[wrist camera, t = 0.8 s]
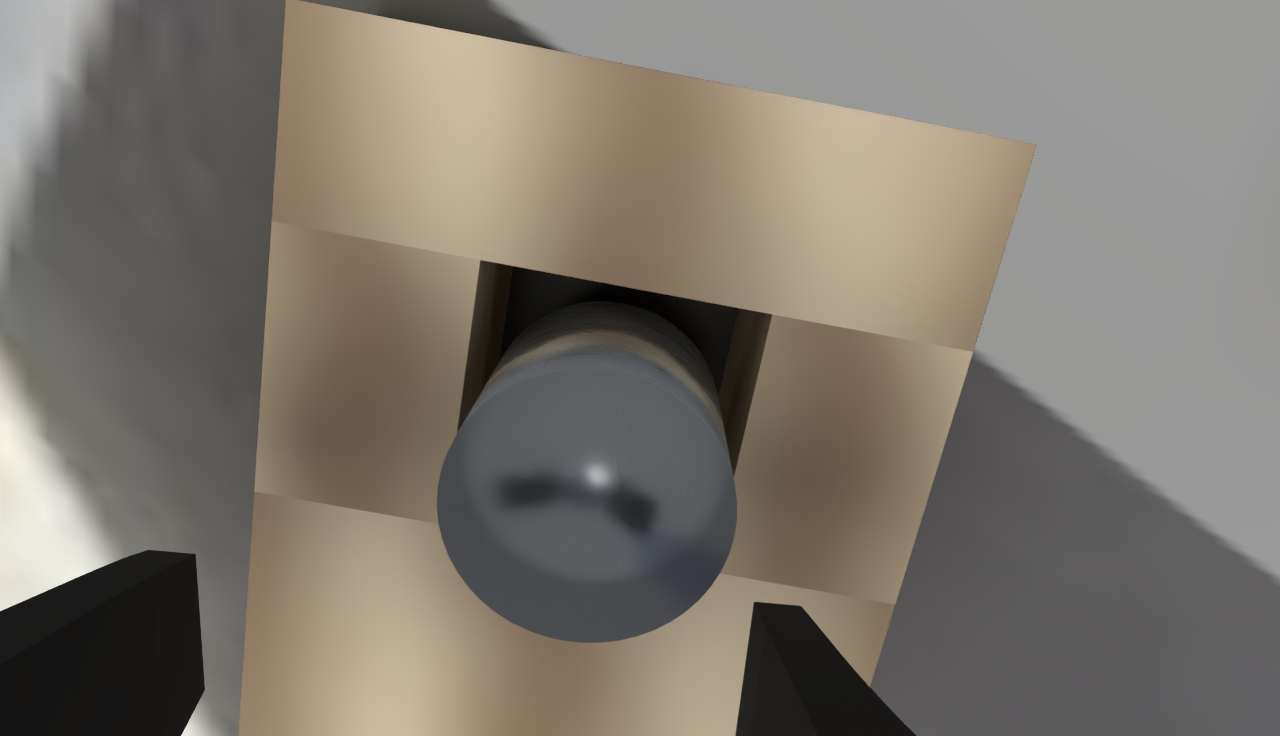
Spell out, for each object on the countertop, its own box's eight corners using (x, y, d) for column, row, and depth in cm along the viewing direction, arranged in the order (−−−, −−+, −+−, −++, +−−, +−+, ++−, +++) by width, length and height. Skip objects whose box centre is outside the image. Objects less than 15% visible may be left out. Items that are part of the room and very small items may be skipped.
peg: (741, 325, 16) (767, 400, 12) (693, 536, 17) (703, 664, 13) (505, 281, 16) (456, 343, 12) (474, 497, 17) (420, 616, 13)
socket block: (950, 131, 19) (1037, 144, 14) (711, 988, 26) (721, 1168, 22) (373, 18, 18) (286, -3, 14) (290, 920, 25) (216, 1090, 21)
